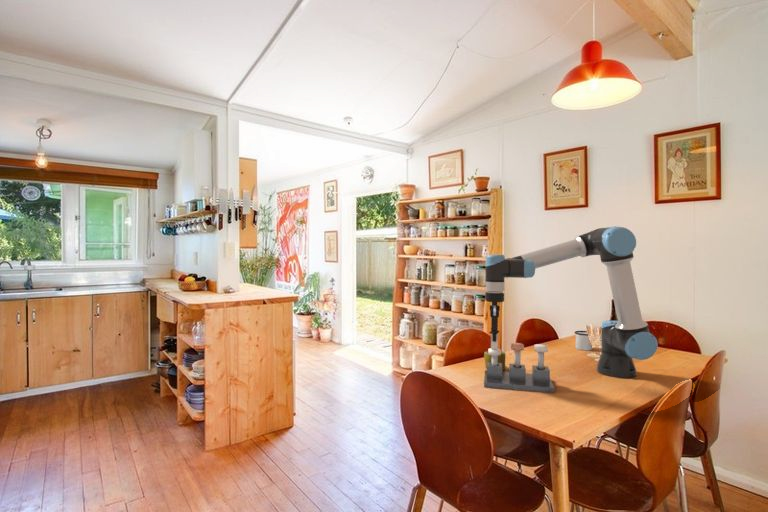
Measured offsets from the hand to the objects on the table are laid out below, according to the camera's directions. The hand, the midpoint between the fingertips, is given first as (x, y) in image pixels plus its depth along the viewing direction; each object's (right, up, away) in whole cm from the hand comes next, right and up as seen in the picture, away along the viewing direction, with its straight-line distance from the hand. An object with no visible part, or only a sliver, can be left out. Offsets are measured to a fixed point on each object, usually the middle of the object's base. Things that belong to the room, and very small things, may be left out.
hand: (494, 348), depth 167 cm
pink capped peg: (+9, -8, -2) cm, 12 cm away
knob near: (+18, -8, -5) cm, 20 cm away
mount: (+9, -14, -2) cm, 16 cm away
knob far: (0, -10, 0) cm, 10 cm away
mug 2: (+65, -13, +54) cm, 85 cm away
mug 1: (+5, -14, +19) cm, 24 cm away
